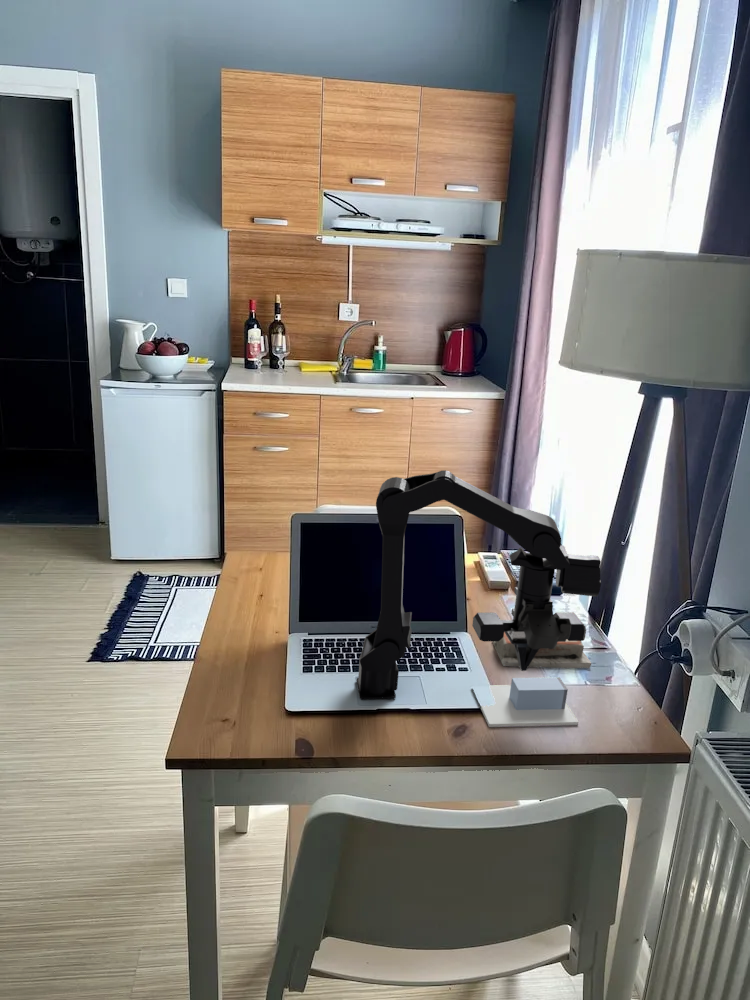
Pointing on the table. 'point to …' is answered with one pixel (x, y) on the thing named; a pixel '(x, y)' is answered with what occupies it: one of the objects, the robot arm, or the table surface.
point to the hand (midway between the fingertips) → (522, 669)
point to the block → (538, 693)
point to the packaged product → (546, 655)
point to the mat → (522, 712)
